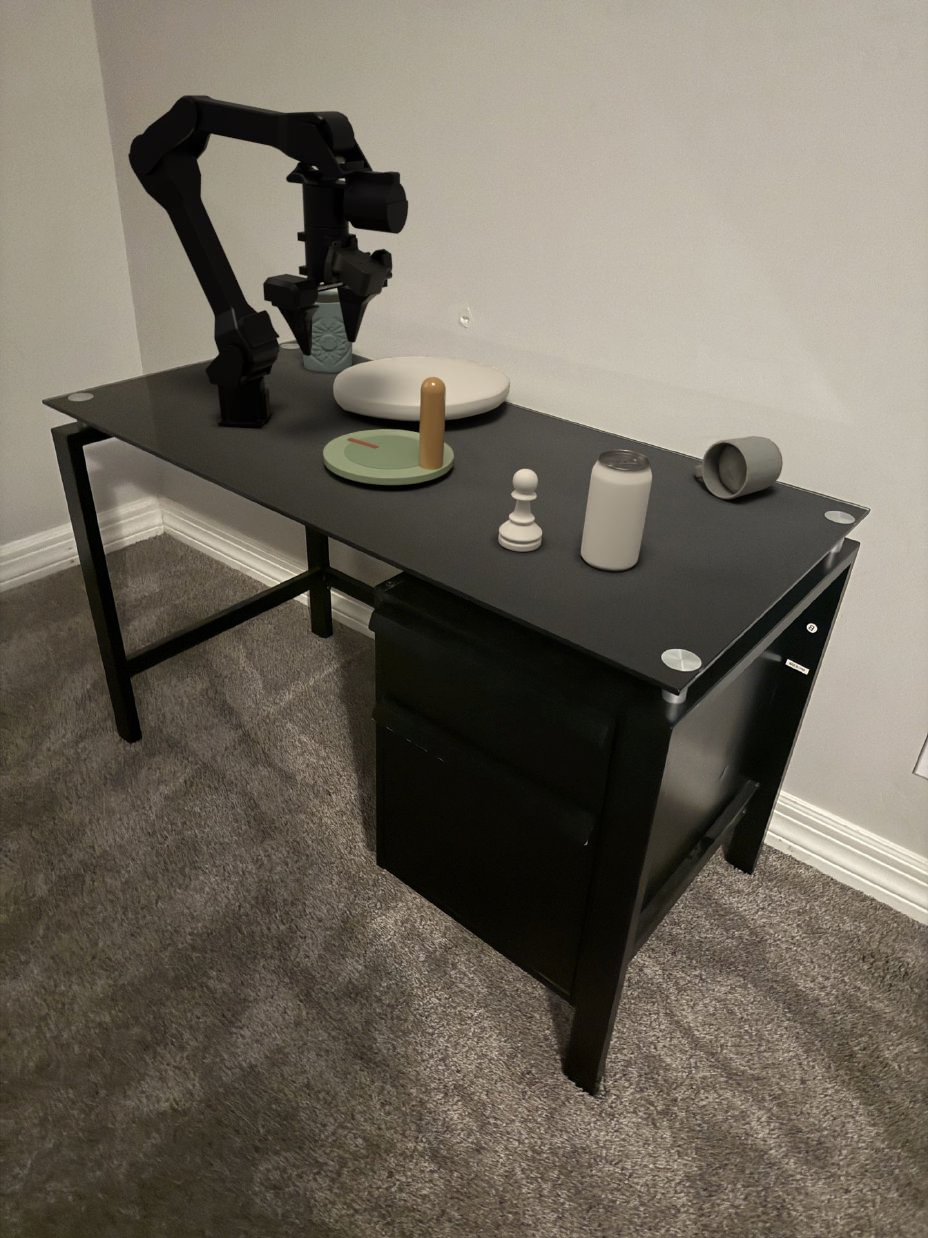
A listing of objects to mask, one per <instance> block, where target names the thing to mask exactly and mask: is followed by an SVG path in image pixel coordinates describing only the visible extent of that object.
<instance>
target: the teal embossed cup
mask: <svg viewBox="0 0 928 1238" xmlns="http://www.w3.org/2000/svg"><path fill="white" fill-rule="evenodd" d="M314 305H318V306H320V307H319V309H318V310H317V311H316V313H315V314H314V315H313V317H312V352H311V355H310V356H306V355H304V354H303V353H302V359H303V366H304V368H305V370H308V371H310V372H314V373H322V374H335V373H341V372H342V371H344V370H345V369H347V368H349V367H352V366H353V343H352V342H349V341H348V339H347V336H346V332H345V327H344V322H343V317H342V312H341V306H340V301H339V296H338V291H334V290H327V291H322V292H318V298H317V300H316V302H315V304H314Z"/></svg>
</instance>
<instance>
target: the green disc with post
mask: <svg viewBox="0 0 928 1238" xmlns="http://www.w3.org/2000/svg"><path fill="white" fill-rule="evenodd" d="M445 404H446V387H445V384H444V382H443V381H442V380H441V379H439V378H437V377H429V378H427V379H425V380H424V381H423V383H422V385H421V389H420V421H419V432H415V431H413V430H412V431H411V430H404V429H391V428H389V429H387V428H385V429H383V428H382V429H381V428H379V429H367V430H360V431H354V432H350V433H347V434H343V435H340V436H338V437H335V438H334V439H332V440H330V441H329V442H327V444H326V445H325V446H324V448H323V450H322V461H323V464H324V466H325V467H326V468H327V469H328V470H329V471H331V473H333V474H335V475H337V476H338V477H342V478H343V479H347V480H350V481H354V482H358V483H361V484H362V483H363V484H370V485H379V486H402V485H413V484H414V485H415V484H420V483H424V482H428V481H432V480H435V479H437V478H439V477H442V476H444V475H445V474H447V473H448V472H449V471H450V470H451V469H452V468H453V466H454V463H455V462H454V461H455V453H454V450H453V449H452V447H451V446H450V444H447V442H446V441H445V431H446V430H445V426H446V420H445Z"/></svg>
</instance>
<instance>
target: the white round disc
mask: <svg viewBox="0 0 928 1238" xmlns="http://www.w3.org/2000/svg"><path fill="white" fill-rule="evenodd" d="M429 377H437V378H439V379H441V380H442V381H443V382H444V384H445V387H446V404H445V421H450V420H459V419H464V418H468V417H473V416H476V415H481V414H485V413H487V412H490V411H492V410H494V409H496V408H498V407H499V406H500V405H501V404H503V403H504V402H505V401H506V400H507V398H508V396H509V394H510V389H511V381H510V377H509V376H508V375H507V374H506V373H505V372H504V371H502V370H500V369H499V368H496V367H493V366H492V365H489V364H484V363H480V362H476V361H472V360H467V359H461V358H455V357H454V358H453V357H444V356H432V355H413V356H412V355H406V356H394V357H385V358H379V359H374V360H369V361H365V362H360V363H357V364H354V365H352V366H351V367H349V368H347V369H345V370H344V371H342V372H339V373H338V374H337V375H336V377H335V379H334V380H333V385H332V389H333V397H334V399H335V401H336V403H337V404H338V405H339V406H340V407H341V409H343V410H344V411H347V412H350V413H353V414H358V415H362V416H366V417H371V418H377V419H384V420H393V421H402V422H404V421H405V422H420V389H421V385H422V383H423V381H424V380H425V379H427V378H429Z"/></svg>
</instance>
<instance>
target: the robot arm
mask: <svg viewBox="0 0 928 1238" xmlns="http://www.w3.org/2000/svg"><path fill="white" fill-rule="evenodd" d="M212 135H215V136H220V137H225V138H228V139H229V138H230V139H235V140H239V141H245V142H249V143H254V144H258V145H263V146H268V147H272V148H274V149H276V150H278V151H280V152H281V153H282V154H284V155H285V156H286V157H288V158H291V159H293V160H295V161H297V163H296V165H295V167H294V168H293V170H292V171H291V172H290V173H289V174H287V175H286V177H285V181H286V182H287V183H290V184H297V185H298V184H299V185H301V189H302V191H301V193H302V213H303V214H302V215H303V231H297V233H296V235H297V237H296V238H297V241H298V242H301V243H304V259H305V260H304V261H305V263H304V264H303V265H299V266H298V275H294V274H290V273H283V274H279V275H278V274H277V275H273V276H268V277H267V278H266V279H265V281H264V282H263V283H262V288H263V300H264V301H265V302H269V303H271V306H272V307H275V308H277V310H278V311H279V312H280V314H281V315H282V317H283V319H284V320H285V322H286V324H287V326H288V327H289V329H290V331H291V333H292V335H293V337H294V339H295V341H296V343H297V345H298V347H299V349H300V351H301V354H302V355H303V354H304V355H306V356H310V355H311V352H312V317H313V315H314V314H315V313H316V311H317V310H318V309H319V307H320V306H318V305H314V304H315V302H316V300H317V298H318V292H322V291H332V290H337V291H336V292H338V296H339V301H340V306H341V312H342V317H343V322H344V327H345V332H346V336H347V339H348V341H349V342H352V344H353V343H356V342H357V339H358V335H359V332H360V329H361V327H362V326H361V325H362V323H363V318H364V316H365V313H366V310H367V307H368V306H369V305H368V304H369V303H370V302H371V301H372V300H373V299H374V298H375V297H377V296H378V295H380V294H381V293H382V291H383V288H388V284H389V283H388V282H389V281H388V280H391V279H392V278H393V254H392V253H391V252H390V251H388V250H387V249H385V248H380V249H375V250H374V251H373V252H372V253H371V252H370V251H366V252H365V251H363V250H361V249H359V240H358V237H357V234H356V233H350V225H351V226H352V228H354V229H356V230H363V231H364V230H365V231H372V232H379V233H388V234H393V235H395V234H396V235H398V234H400V233H401V232H402V231H403V230H404V228H405V226H406V224H407V220H408V214H409V200H408V199H407V193H406V190H405V187H404V185H402V183H401V173H400V172H399V171H391V170H389V171H374V170H373V168H372V166H371V165H370V162H369V161H368V158H367V157H366V155H365V154H364V152H363V150H362V149H361V146H360V144H359V142H357V139H356V138H355V137H356V136H355V131H354V128H353V125H352V123H351V122H350V121H349V118H348V116H347V115H346V114H344V113H342V112H340V111H336V110H326V111H322V110H321V111H320V110H319V111H297V112H296V111H295V112H293V111H291V112H283V111H278V110H273V109H269V108H268V109H267V108H262V107H258V106H257V107H256V106H252V105H246V104H242V103H237V102H236V103H235V102H232V101H226V100H222V99H221V100H220V99H215V98H212V97H211V96H209V95H205V94H203V95H201V94H195V95H194V94H192V95H191V94H187V95H186V94H185V95H182V96H181V97H179V98H178V99H177V100H176V101H175V103H173V105H172V107H171V108H170V109H169V110H168V111H167V112H165V113H164V114H162V115H161V116H160V117H158V118H157V119H156V120H155V121H154V122H152V123H151V124H149V125H148V126H147V127H146V128H145V130H144V131H143V133H140V134H137V135H135V137H133V139H132V141H131V144H130V146H129V147H130V148H129V152H128V154H127V155H128V161H129V165H130V168H131V170H132V171H133V173H134V175H135V177H136V178H137V180H138V181H139V183H140V184H141V186H142V188H143V189H144V191H145V193H146V194H147V195H149V196H150V198H152V199H153V200H154V201H155V203H157V204H158V205H159V206H160V207H162V208H163V210H164V211H165V212H166V213H167V215H168V218H169V219H170V221H171V224H172V226H173V229H174V230H175V233H176V235H177V237H178V239H179V242H180V244H181V246H182V248H183V250H184V252H185V255H186V256H187V259H188V261H189V263H190V265H191V268H192V269H193V272H194V274H195V276H196V278H197V280H198V282H199V285H200V287H201V289H202V292H203V294H204V296H205V299H206V300H207V302H208V305H209V306H210V309H211V311H212V314H213V316H214V317H213V318H214V331H213V332H214V333H213V334H214V335H213V339H214V343H215V346H216V349H217V352H218V354H217V355H216V357H215V358H213V360H212V361H211V362H210V363H209V364H208V365H207V367H206V368H205V373H206V376H207V379H208V381H209V383H210V384H211V385H213V386H214V385H215V386H217V392H218V394H217V395H218V403H219V413H220V418H219V419H218V420H217V425H218V426H230V427H245V428H246V427H248V428H261V427H263V426H264V424H265V423H266V421H267V420H268V419H269V417H270V415H271V414H272V413H271V401H270V388H269V387H266V382H265V376H269V375H271V372H272V369H273V365H274V364H275V362H276V361H277V360H278V356H279V353H280V351H281V350H280V345H279V341H278V339H279V338H280V334H279V333H278V332H277V331H276V329H275V328H274V325H273V322H272V319H271V316H270V313H269V312H268V311H267V310H266V309H263V310H261V311H257V310H256V309H255V308H254V307H253V306H251V305H250V304H249V302H248V301H247V299H246V297H245V295H244V293H243V290H242V288H241V286H240V284H239V282H238V279H237V277H236V275H235V272H234V270H233V268H232V265H231V263H230V261H229V259H228V256H227V254H226V252H225V249H224V247H223V245H222V243H221V241H220V239H219V236H218V234H217V232H216V229H215V227H214V225H213V222H212V221H211V218H210V216H209V214H208V211H207V209H206V207H205V204H204V203H203V200H202V173H201V169H200V166H199V163H198V160H199V158H200V157H201V156H202V155H203V154H204V153H205V152H206V150H207V148H208V146H209V142H210V138H211V136H212ZM314 167H315V168H314ZM343 179H344V180H343ZM299 275H300V276H299Z"/></svg>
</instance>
